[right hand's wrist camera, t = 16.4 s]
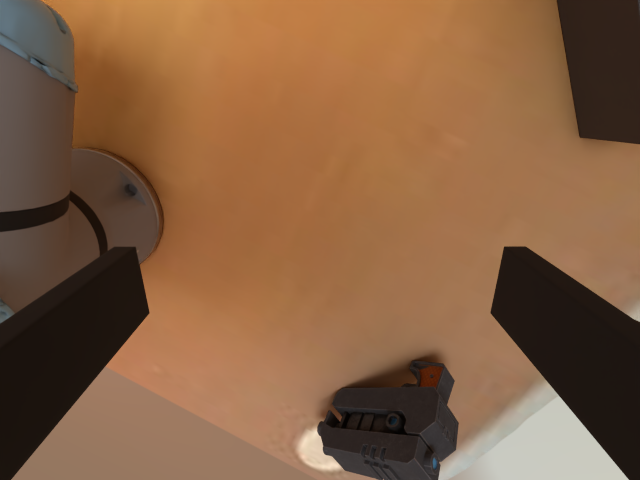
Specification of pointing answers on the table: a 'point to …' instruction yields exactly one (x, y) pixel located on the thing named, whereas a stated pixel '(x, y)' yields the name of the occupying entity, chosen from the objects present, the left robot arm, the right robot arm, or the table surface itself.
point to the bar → (604, 66)
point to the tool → (394, 427)
